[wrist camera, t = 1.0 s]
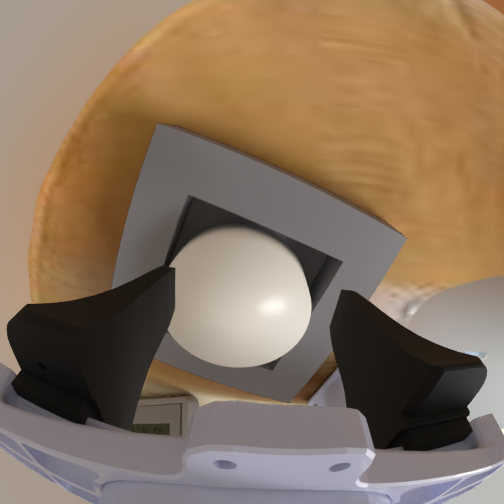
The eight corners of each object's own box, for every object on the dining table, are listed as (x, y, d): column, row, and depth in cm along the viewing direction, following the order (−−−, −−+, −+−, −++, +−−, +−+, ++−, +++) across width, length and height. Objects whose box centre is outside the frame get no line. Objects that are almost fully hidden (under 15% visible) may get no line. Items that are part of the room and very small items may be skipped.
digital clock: (202, 390, 29) (185, 471, 19) (219, 431, 32) (210, 499, 22) (87, 381, 30) (55, 441, 20) (115, 421, 34) (93, 476, 24)
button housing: (388, 223, 21) (407, 238, 18) (287, 377, 28) (289, 403, 24) (174, 125, 19) (157, 123, 16) (118, 313, 25) (103, 335, 22)
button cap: (329, 257, 20) (340, 278, 17) (269, 355, 24) (269, 382, 21) (196, 200, 19) (184, 212, 16) (157, 313, 22) (145, 336, 19)
